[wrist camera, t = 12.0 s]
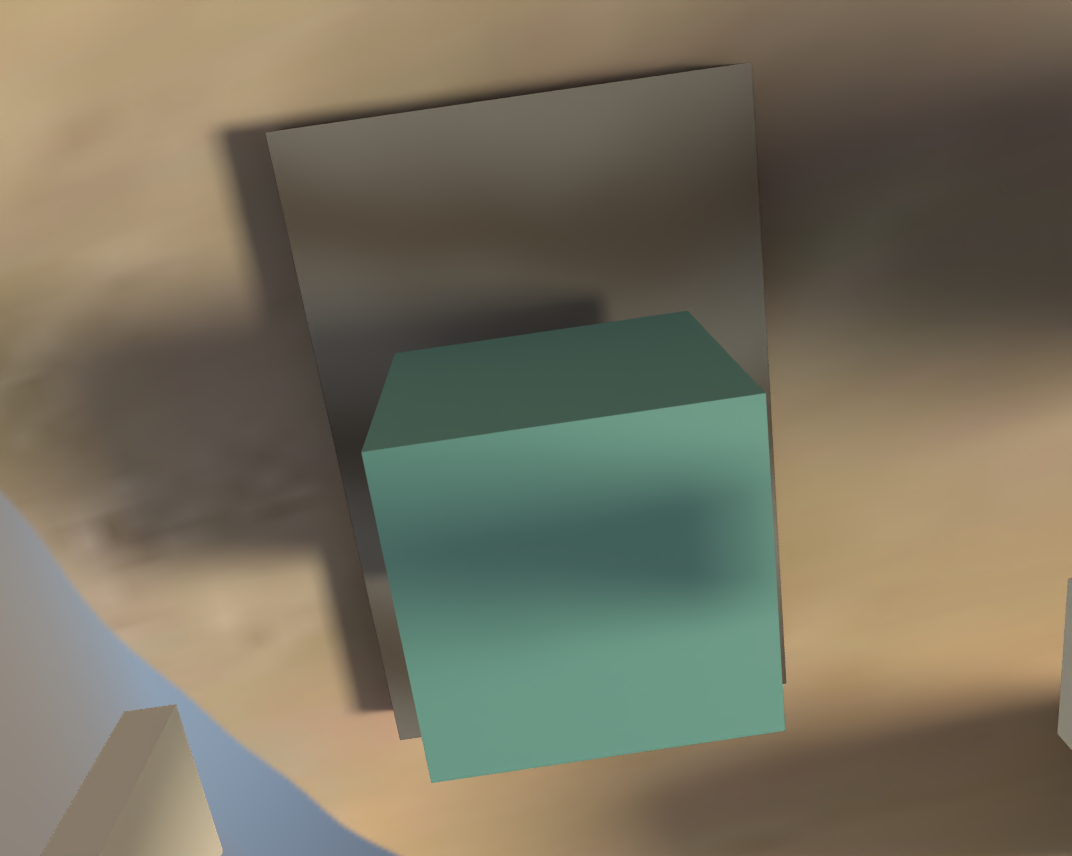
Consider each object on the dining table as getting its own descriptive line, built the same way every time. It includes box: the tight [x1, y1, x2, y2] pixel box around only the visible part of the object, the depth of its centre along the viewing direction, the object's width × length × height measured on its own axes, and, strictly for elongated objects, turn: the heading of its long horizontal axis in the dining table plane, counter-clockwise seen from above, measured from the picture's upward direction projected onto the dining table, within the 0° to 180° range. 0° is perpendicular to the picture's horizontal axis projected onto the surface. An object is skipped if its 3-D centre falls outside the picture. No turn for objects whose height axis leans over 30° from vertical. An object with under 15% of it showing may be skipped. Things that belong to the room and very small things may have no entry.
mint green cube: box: [361, 311, 785, 783], centre depth 21 cm, size 7×7×7 cm
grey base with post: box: [266, 62, 786, 740], centre depth 23 cm, size 18×12×10 cm, turn 8°
